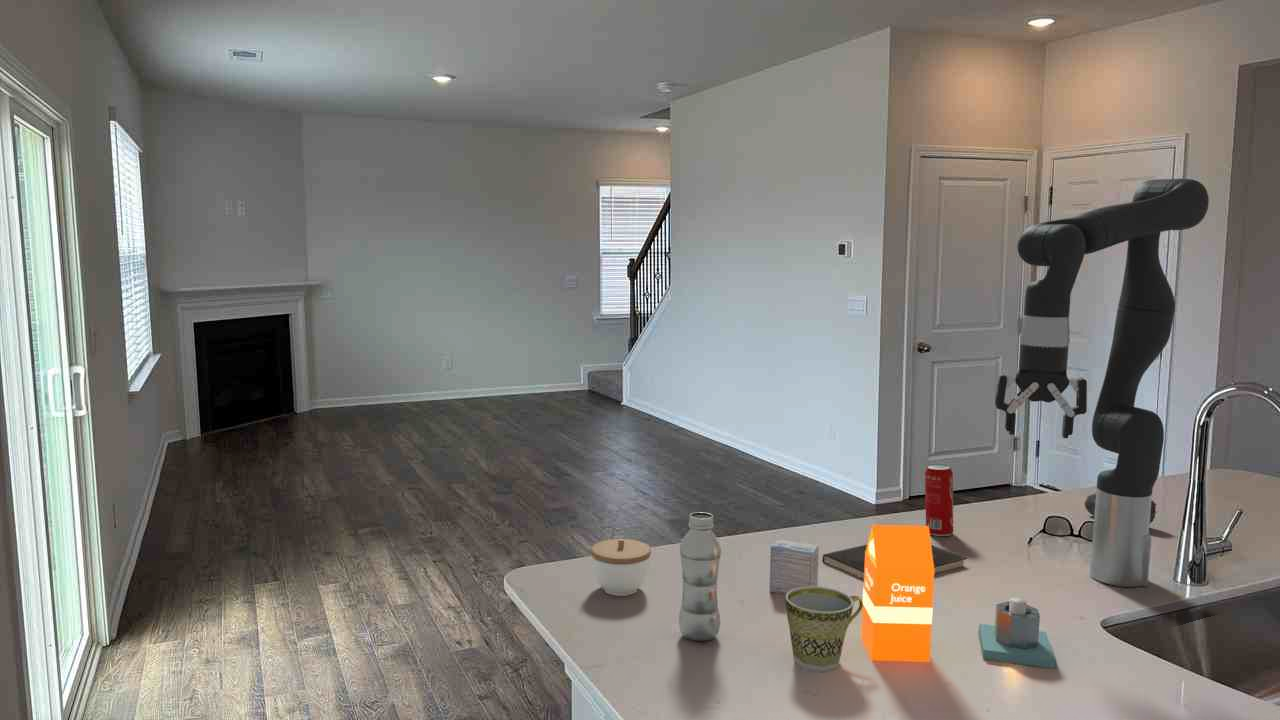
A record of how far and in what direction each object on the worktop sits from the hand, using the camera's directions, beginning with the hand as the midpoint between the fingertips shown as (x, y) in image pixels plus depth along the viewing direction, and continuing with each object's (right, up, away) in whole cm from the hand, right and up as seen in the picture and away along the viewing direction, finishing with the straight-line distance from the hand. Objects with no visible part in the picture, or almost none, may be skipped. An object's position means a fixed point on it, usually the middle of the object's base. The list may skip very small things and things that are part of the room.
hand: (1037, 435), depth 155 cm
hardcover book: (-19, -28, +23) cm, 41 cm away
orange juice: (-29, -32, -16) cm, 46 cm away
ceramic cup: (-41, -33, -19) cm, 56 cm away
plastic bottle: (-59, -31, -12) cm, 68 cm away
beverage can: (-3, -25, +42) cm, 49 cm away
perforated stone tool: (+41, -25, +52) cm, 71 cm away
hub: (-10, -31, -15) cm, 36 cm away
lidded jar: (-72, -29, +8) cm, 78 cm away
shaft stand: (-10, -32, -15) cm, 37 cm away
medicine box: (-41, -29, +8) cm, 51 cm away
